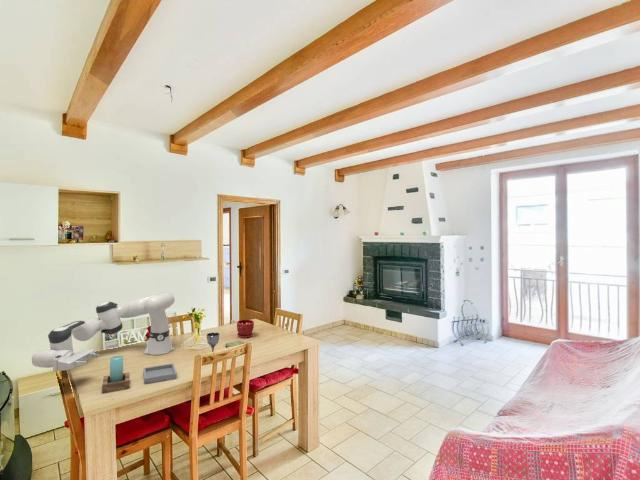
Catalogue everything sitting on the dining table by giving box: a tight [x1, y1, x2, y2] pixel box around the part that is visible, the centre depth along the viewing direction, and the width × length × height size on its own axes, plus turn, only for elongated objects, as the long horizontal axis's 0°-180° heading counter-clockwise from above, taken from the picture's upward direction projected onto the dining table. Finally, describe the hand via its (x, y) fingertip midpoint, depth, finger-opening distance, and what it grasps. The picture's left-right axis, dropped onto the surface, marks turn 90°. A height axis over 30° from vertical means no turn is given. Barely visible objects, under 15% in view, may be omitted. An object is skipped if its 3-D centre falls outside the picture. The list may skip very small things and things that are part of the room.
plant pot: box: [236, 319, 255, 339], centre depth 269 cm, size 13×13×12 cm
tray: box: [142, 363, 178, 385], centre depth 194 cm, size 16×16×3 cm
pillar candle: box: [109, 355, 124, 383], centre depth 180 cm, size 6×6×15 cm
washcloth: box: [224, 340, 245, 348], centre depth 243 cm, size 13×18×3 cm
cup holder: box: [101, 372, 131, 394], centre depth 180 cm, size 12×12×4 cm
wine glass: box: [206, 331, 220, 353], centre depth 224 cm, size 8×8×15 cm
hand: (92, 359), depth 179 cm, fingers open, 8 cm apart
